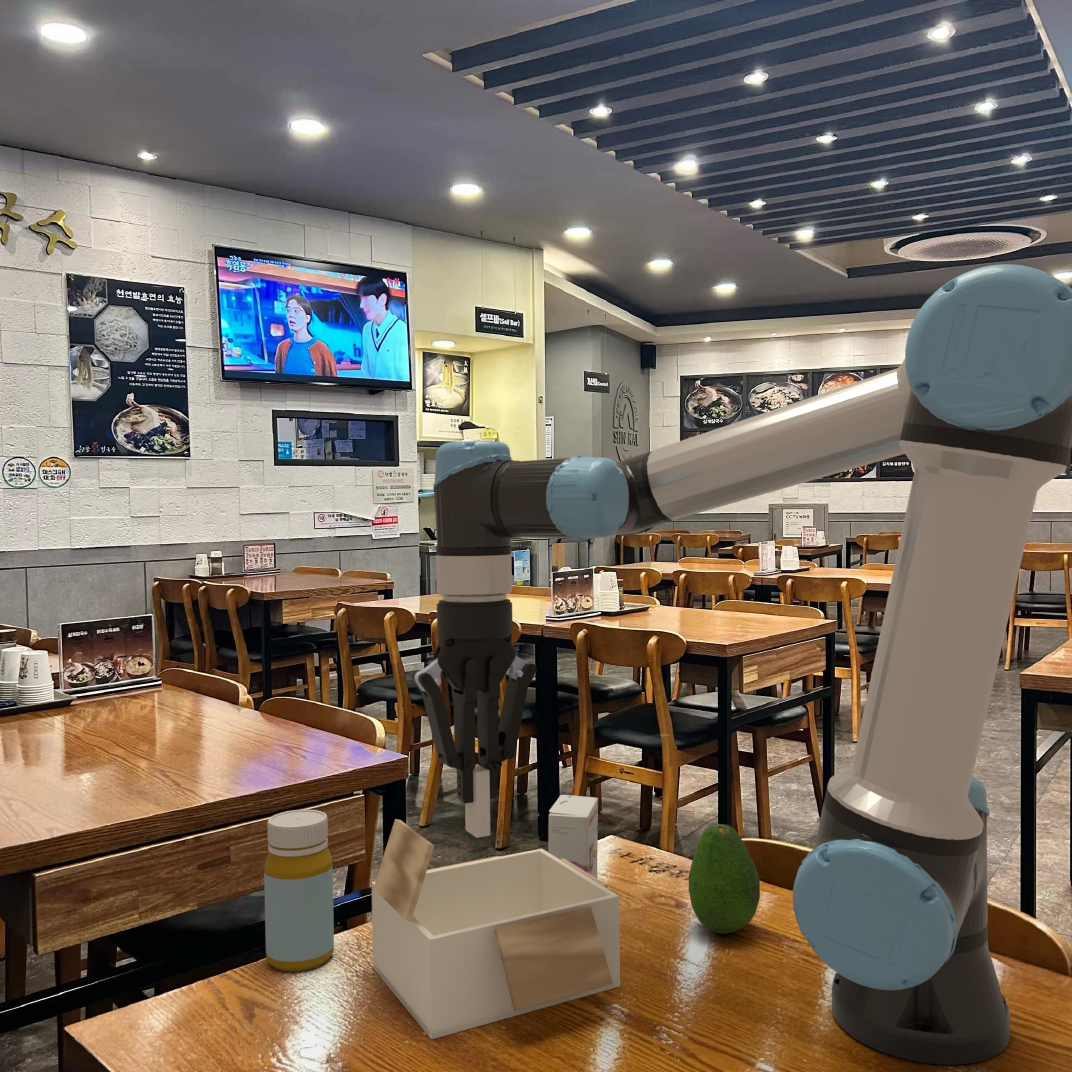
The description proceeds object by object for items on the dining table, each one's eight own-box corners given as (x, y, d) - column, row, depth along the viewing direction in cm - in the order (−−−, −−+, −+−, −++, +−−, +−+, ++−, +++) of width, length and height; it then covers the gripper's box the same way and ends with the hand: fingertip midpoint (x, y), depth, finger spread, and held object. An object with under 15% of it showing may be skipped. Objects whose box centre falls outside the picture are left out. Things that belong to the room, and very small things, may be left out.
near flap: (588, 907, 95) (610, 984, 92) (494, 929, 90) (513, 1011, 87) (590, 906, 95) (613, 983, 91) (496, 928, 90) (516, 1010, 87)
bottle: (274, 979, 100) (271, 832, 100) (259, 953, 106) (257, 814, 106) (342, 964, 103) (339, 821, 103) (323, 939, 110) (321, 804, 109)
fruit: (674, 933, 110) (673, 825, 110) (713, 911, 116) (712, 809, 115) (736, 954, 105) (735, 841, 104) (774, 930, 110) (773, 823, 110)
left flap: (411, 921, 91) (434, 845, 92) (405, 920, 91) (428, 844, 92) (378, 889, 99) (400, 820, 100) (373, 888, 99) (395, 818, 100)
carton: (627, 984, 98) (626, 894, 98) (431, 1039, 88) (429, 939, 88) (545, 923, 113) (544, 845, 113) (370, 964, 103) (369, 879, 103)
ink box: (589, 916, 115) (588, 815, 115) (547, 913, 116) (545, 813, 116) (599, 888, 123) (598, 794, 123) (559, 886, 124) (558, 792, 124)
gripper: (515, 591, 105) (518, 813, 105) (399, 598, 99) (403, 832, 99) (549, 596, 98) (552, 832, 99) (427, 603, 92) (431, 855, 93)
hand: (477, 832), depth 99 cm, fingers closed
